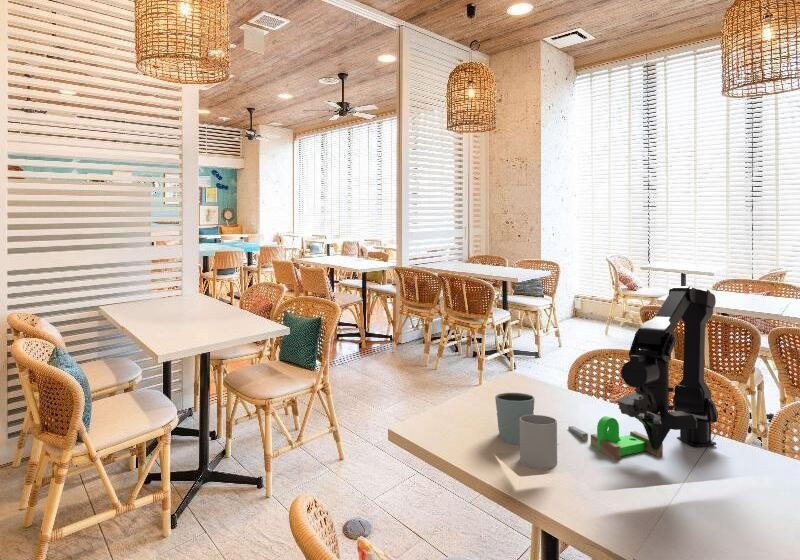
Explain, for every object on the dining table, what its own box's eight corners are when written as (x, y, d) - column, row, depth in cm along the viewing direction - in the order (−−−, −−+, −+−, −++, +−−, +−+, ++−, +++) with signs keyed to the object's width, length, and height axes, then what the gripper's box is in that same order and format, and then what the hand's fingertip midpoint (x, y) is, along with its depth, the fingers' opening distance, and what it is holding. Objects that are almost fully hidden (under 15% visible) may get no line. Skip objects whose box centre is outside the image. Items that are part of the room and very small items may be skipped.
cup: (557, 458, 119) (557, 416, 119) (556, 470, 111) (556, 425, 111) (521, 454, 121) (521, 413, 122) (518, 466, 114) (517, 422, 114)
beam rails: (635, 442, 130) (635, 431, 130) (662, 455, 120) (662, 443, 120) (590, 446, 127) (590, 434, 127) (615, 459, 118) (614, 446, 118)
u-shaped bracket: (572, 434, 137) (572, 425, 137) (589, 444, 129) (589, 434, 129) (532, 437, 134) (532, 428, 134) (546, 447, 127) (546, 437, 127)
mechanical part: (617, 456, 119) (617, 423, 119) (597, 449, 124) (597, 417, 124) (650, 449, 124) (650, 417, 124) (629, 442, 130) (629, 411, 130)
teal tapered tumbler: (539, 448, 126) (538, 400, 126) (499, 448, 126) (499, 400, 126) (529, 435, 136) (529, 392, 136) (492, 435, 136) (492, 392, 136)
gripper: (599, 375, 121) (599, 439, 121) (652, 391, 103) (653, 467, 103) (639, 373, 123) (639, 436, 123) (698, 389, 105) (699, 462, 105)
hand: (655, 449), depth 114 cm, fingers closed
